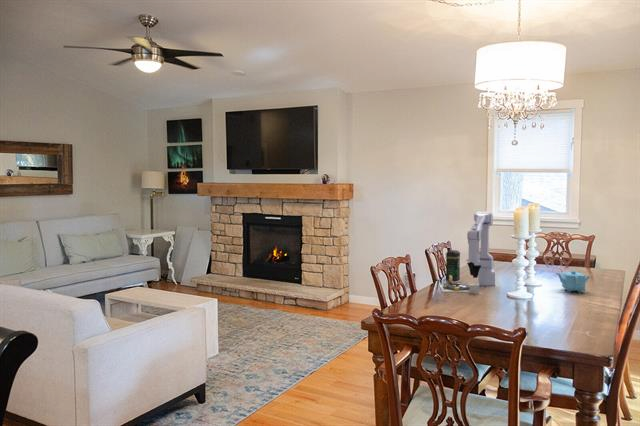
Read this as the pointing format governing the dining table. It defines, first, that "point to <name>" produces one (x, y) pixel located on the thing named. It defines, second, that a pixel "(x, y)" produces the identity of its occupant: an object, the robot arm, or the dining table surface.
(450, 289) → the base plate
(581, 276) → the teapot
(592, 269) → the dining table surface
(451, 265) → the coffee jar
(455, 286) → the sprocket
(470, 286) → the yellow banded block
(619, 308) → the dining table surface
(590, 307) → the dining table surface
